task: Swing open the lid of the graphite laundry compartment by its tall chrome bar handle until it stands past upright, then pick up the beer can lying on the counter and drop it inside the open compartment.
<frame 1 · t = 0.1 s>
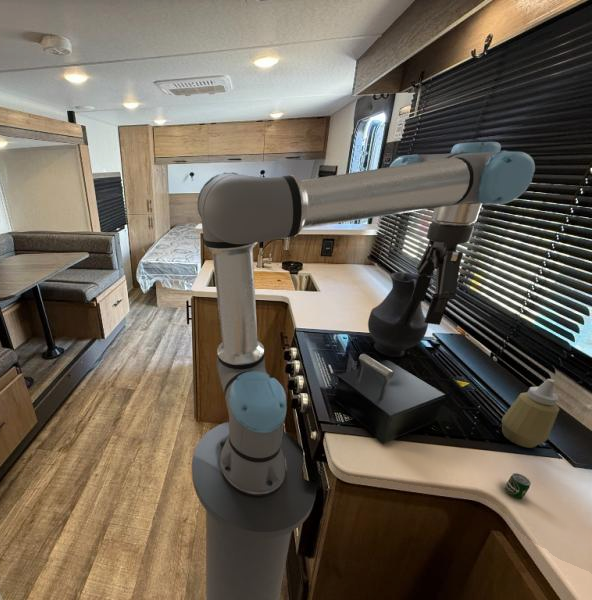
hand: (424, 311, 75), 30 cm above the table, tool pointing down, fingers open, 13 cm apart
compartment lid: (392, 371, 79), point 14 cm above the table, hinge at 0.0°
squeeze bottle: (517, 439, 76), on the table
compartment: (381, 411, 85), on the table
beer can: (512, 493, 64), on the table
pitcher: (389, 352, 111), on the table
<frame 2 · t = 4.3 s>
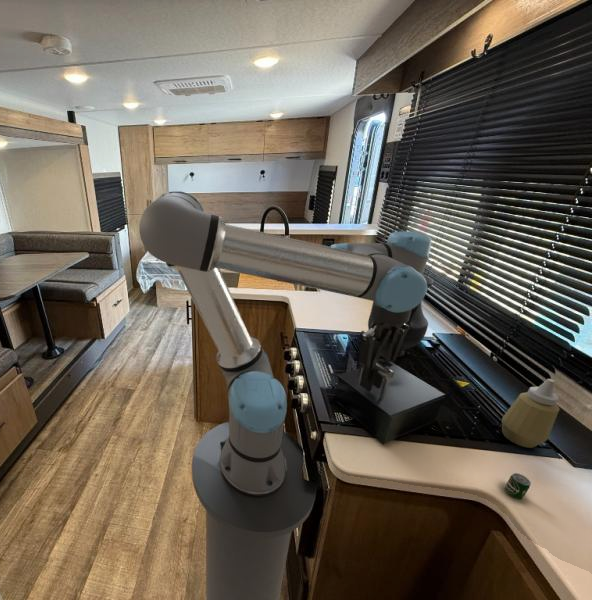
hand: (369, 386, 78), 11 cm above the table, tool pointing down, fingers closed on compartment lid, 2 cm apart
compartment lid: (392, 371, 79), point 14 cm above the table, hinge at -0.1°, touching gripper
everything else where it was.
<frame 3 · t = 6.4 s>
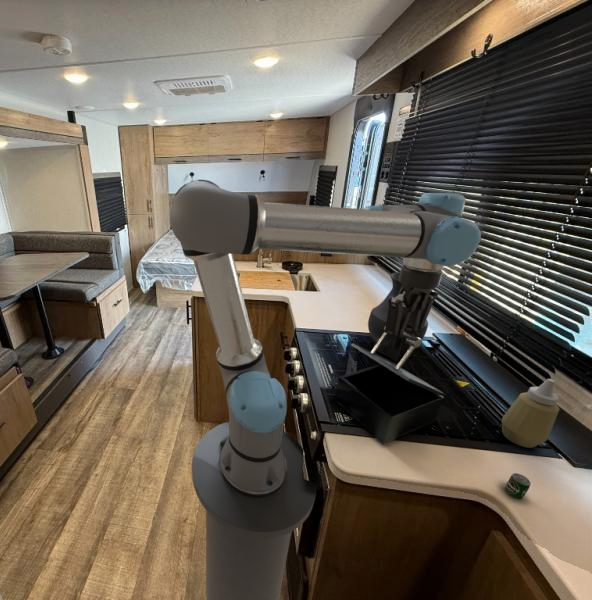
hand: (396, 356, 77), 19 cm above the table, tool pointing down, fingers closed on compartment lid, 2 cm apart
compartment lid: (406, 354, 79), point 18 cm above the table, hinge at 31.0°, touching gripper
everything else where it was.
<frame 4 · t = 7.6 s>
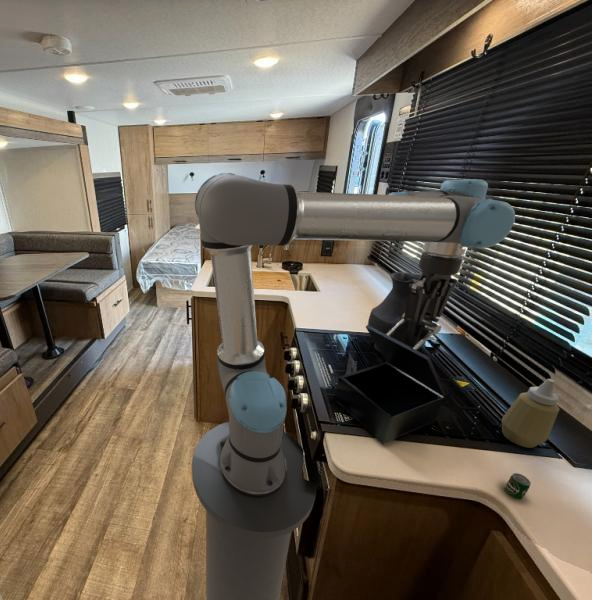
hand: (414, 343, 78), 21 cm above the table, tool pointing down, fingers closed on compartment lid, 2 cm apart
compartment lid: (416, 347, 79), point 19 cm above the table, hinge at 49.9°, touching gripper
everything else where it was.
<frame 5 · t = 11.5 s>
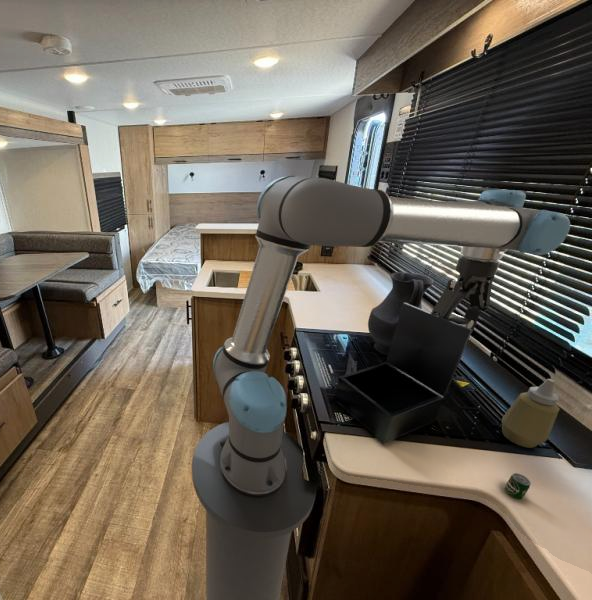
hand: (450, 335, 83), 20 cm above the table, tool pointing down, fingers open, 12 cm apart
compartment lid: (435, 344, 82), point 19 cm above the table, hinge at 90.3°
everything else where it was.
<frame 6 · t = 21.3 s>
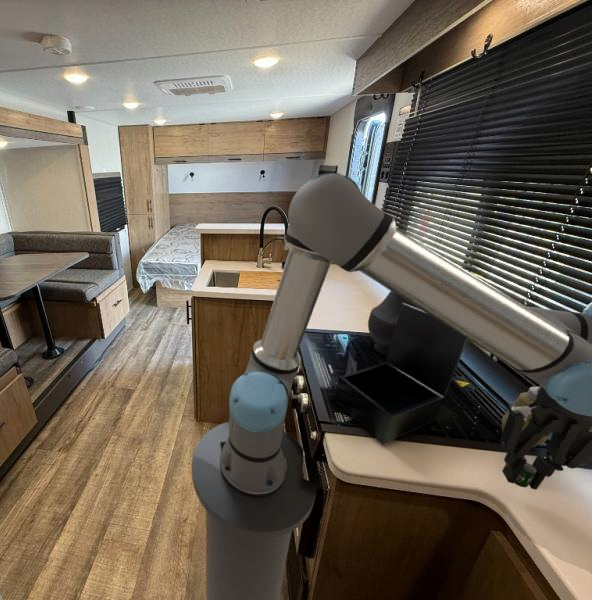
hand: (518, 479, 62), 4 cm above the table, tool pointing down, fingers closed on beer can, 3 cm apart
compartment lid: (434, 343, 81), point 19 cm above the table, hinge at 88.9°
beer can: (517, 481, 62), point 3 cm above the table, touching gripper
everything else where it was.
when the fingers open (1 cm above the table, at t = 29.0 s): beer can stays where it is, resting on compartment.
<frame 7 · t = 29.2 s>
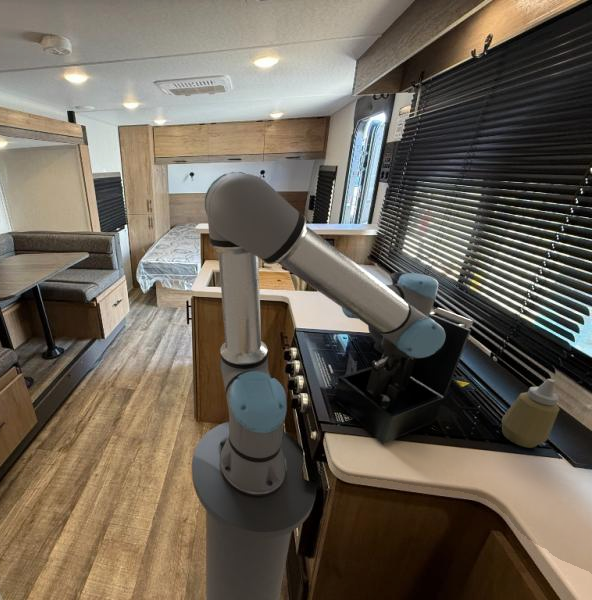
hand: (380, 409, 84), 1 cm above the table, tool pointing down, fingers open, 5 cm apart
beer can: (380, 410, 84), point 1 cm above the table, touching compartment
everything else where it was.
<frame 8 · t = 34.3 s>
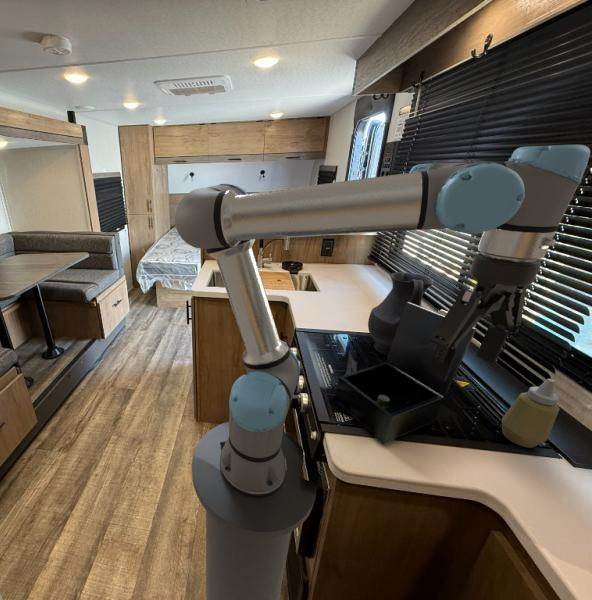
hand: (462, 367, 56), 29 cm above the table, tool pointing down, fingers open, 13 cm apart
compartment lid: (436, 344, 82), point 18 cm above the table, hinge at 94.8°
everything else where it was.
at the end: compartment lid at +95° (first picture: +0°); beer can inside the target area in the compartment (0.7 cm from its centre), point 0.7 cm above the compartment's base; the gripper is holding nothing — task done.
